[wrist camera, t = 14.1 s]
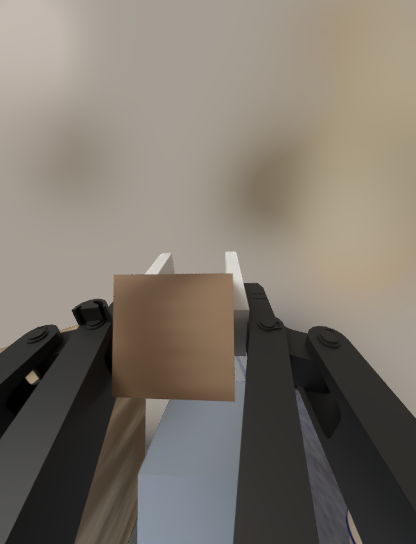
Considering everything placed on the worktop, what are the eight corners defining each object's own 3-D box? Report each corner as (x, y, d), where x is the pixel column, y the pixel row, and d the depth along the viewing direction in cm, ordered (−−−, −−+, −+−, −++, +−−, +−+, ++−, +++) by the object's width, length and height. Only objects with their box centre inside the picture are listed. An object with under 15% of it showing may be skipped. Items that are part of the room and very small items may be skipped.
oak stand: (-54, 691, 17) (-34, 359, 18) (80, 490, 33) (84, 322, 34) (69, 710, 16) (79, 361, 17) (144, 494, 32) (146, 323, 33)
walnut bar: (111, 397, 6) (114, 274, 6) (200, 302, 32) (200, 280, 32) (234, 401, 6) (233, 273, 6) (223, 302, 31) (222, 279, 32)
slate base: (135, 720, 15) (138, 474, 17) (178, 497, 31) (178, 379, 32) (277, 741, 15) (270, 482, 16) (247, 502, 31) (245, 381, 32)
